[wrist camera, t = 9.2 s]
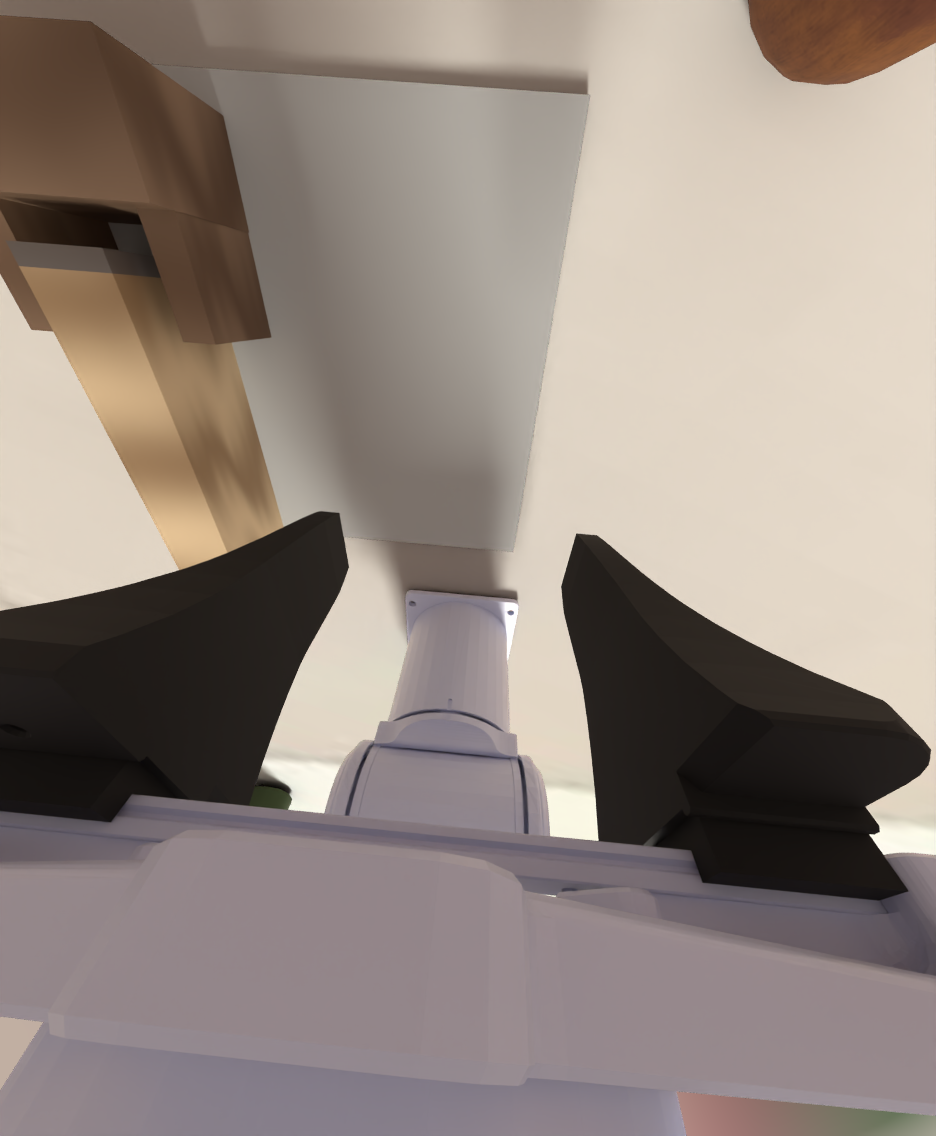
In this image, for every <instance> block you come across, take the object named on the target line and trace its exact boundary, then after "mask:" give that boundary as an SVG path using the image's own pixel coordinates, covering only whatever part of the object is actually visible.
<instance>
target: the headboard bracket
mask: <svg viewBox="0 0 936 1136" xmlns="http://www.w3.org/2000/svg"><path fill="white" fill-rule="evenodd" d="M108 222H110V223H123V224H136V225H143V228H144V231H145V234H146V237H147V239H148V242H149V245H150V248H151V251H152V254H153V257H154V259H155V262H156V265H157V268H158V271H159V274H160V277H161V279H162V282H163V285H164V288H165V291H166V294H167V296H168V299H169V302H170V305H171V308H172V311H173V314H174V316H175V319H176V322H177V325H178V328H179V331H180V334H181V336H182V339H183V342H189V343H201V344H214V345H217V344H225V343H233V342H241V341H248V340H256V339H264V338H272V337H271V332H270V328H269V324H268V319H267V315H266V310H265V306H264V301H263V297H262V292H261V288H260V283H259V279H258V274H257V270H256V265H255V261H254V257H253V252H252V248H251V243H250V239H249V234H248V233H249V229H248V224H247V220H246V215H245V211H244V206H243V202H242V197H241V193H240V188H239V184H238V179H237V175H236V170H235V166H234V161H233V157H232V152H231V148H230V143H229V139H228V134H227V130H226V125H225V121H224V116H223V115H222V114H220V113H219V112H218V111H216V110H215V109H213V108H212V107H210V106H209V105H208V104H206V103H205V102H203V101H202V100H201V99H199V98H198V97H196V96H195V95H194V94H192V93H191V92H189V91H188V90H186V89H185V88H184V87H182V86H181V85H179V84H178V83H177V82H175V81H174V80H172V79H171V78H170V77H168V76H167V75H165V74H164V73H162V72H161V71H160V70H158V69H157V68H155V67H154V66H153V65H151V64H150V63H148V62H147V61H145V60H144V59H143V58H141V57H140V56H138V55H137V54H136V53H134V52H133V51H131V50H130V49H129V48H127V47H126V46H124V45H123V44H121V43H120V42H119V41H117V40H116V39H114V38H113V37H112V36H110V35H109V34H107V33H106V32H105V31H103V30H102V29H100V28H99V27H97V26H96V25H95V24H93V23H92V22H89V21H74V20H60V19H45V18H31V17H16V16H1V15H0V274H1V276H2V278H3V279H4V281H5V283H6V285H7V287H8V288H9V290H10V292H11V294H12V296H13V297H14V299H15V301H16V303H17V305H18V306H19V308H20V310H21V312H22V313H23V315H24V317H25V319H26V321H27V322H28V324H29V326H30V328H31V330H42V331H53V330H52V328H51V326H50V324H49V322H48V320H47V318H46V316H45V315H44V313H43V311H42V309H41V307H40V305H39V303H38V301H37V299H36V298H35V296H34V294H33V292H32V290H31V288H30V286H29V284H28V282H27V280H26V279H25V277H24V275H23V273H22V271H21V269H20V267H19V265H18V263H17V262H16V260H15V258H14V256H13V254H12V252H11V250H10V248H9V246H8V244H7V243H6V241H5V240H7V241H20V242H33V243H46V244H59V245H72V246H85V247H97V248H106V249H113V250H119V249H118V247H117V244H116V242H115V239H114V237H113V234H112V231H111V229H110V226H109V224H108Z"/></svg>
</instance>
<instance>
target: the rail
mask: <svg viewBox="0 0 936 1136" xmlns="http://www.w3.org/2000/svg"><path fill="white" fill-rule="evenodd" d="M5 241H6V243H7V244H8V246H9V248H10V250H11V252H12V254H13V256H14V258H15V260H16V262H17V263H18V265H19V267H20V269H21V271H22V273H23V275H24V277H25V279H26V280H27V282H28V284H29V286H30V288H31V290H32V292H33V294H34V296H35V298H36V299H37V301H38V303H39V305H40V307H41V309H42V311H43V313H44V315H45V316H46V318H47V320H48V322H49V324H50V326H51V328H52V330H53V332H54V333H55V335H56V337H57V339H58V341H59V343H60V345H61V347H62V349H63V351H64V352H65V354H66V356H67V358H68V360H69V362H70V364H71V366H72V368H73V369H74V371H75V373H76V375H77V377H78V379H79V381H80V383H81V385H82V387H83V388H84V390H85V392H86V394H87V396H88V398H89V400H90V402H91V404H92V405H93V407H94V409H95V411H96V413H97V415H98V417H99V419H100V421H101V423H102V424H103V426H104V428H105V430H106V432H107V434H108V436H109V438H110V440H111V441H112V443H113V445H114V447H115V449H116V451H117V453H118V455H119V457H120V459H121V460H122V462H123V464H124V466H125V468H126V470H127V472H128V474H129V476H130V477H131V479H132V481H133V483H134V485H135V487H136V489H137V491H138V493H139V495H140V496H141V498H142V500H143V502H144V504H145V506H146V508H147V510H148V512H149V513H150V515H151V517H152V519H153V521H154V523H155V525H156V527H157V529H158V530H159V532H160V534H161V536H162V538H163V540H164V542H165V544H166V546H167V548H168V549H169V551H170V553H171V555H172V557H173V559H174V561H175V563H176V565H177V566H178V568H179V570H181V569H185V568H187V567H190V566H193V565H196V564H199V563H202V562H205V561H207V560H210V559H213V558H215V557H218V556H220V555H223V554H225V553H228V552H230V551H232V550H235V549H237V548H239V547H241V546H244V545H246V544H248V543H250V542H253V541H255V540H257V539H260V538H262V537H264V536H266V535H268V534H270V533H272V532H274V531H276V530H278V529H280V528H283V527H284V526H283V523H282V519H281V515H280V512H279V508H278V505H277V501H276V498H275V494H274V491H273V487H272V484H271V480H270V477H269V473H268V469H267V466H266V462H265V459H264V455H263V452H262V448H261V445H260V441H259V438H258V434H257V431H256V427H255V424H254V420H253V416H252V413H251V409H250V406H249V402H248V399H247V395H246V392H245V388H244V385H243V381H242V378H241V374H240V370H239V367H238V363H237V360H236V356H235V353H234V349H233V346H232V343H225V344H217V345H214V344H201V343H189V342H183V339H182V336H181V334H180V331H179V328H178V325H177V322H176V319H175V316H174V314H173V311H172V308H171V305H170V302H169V299H168V296H167V294H166V291H165V288H164V285H163V282H162V279H161V277H160V274H159V271H158V268H157V265H156V262H155V259H154V257H153V256H151V255H145V254H138V253H132V252H126V251H119V250H113V249H106V248H97V247H85V246H72V245H59V244H46V243H33V242H20V241H7V240H5Z"/></svg>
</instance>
